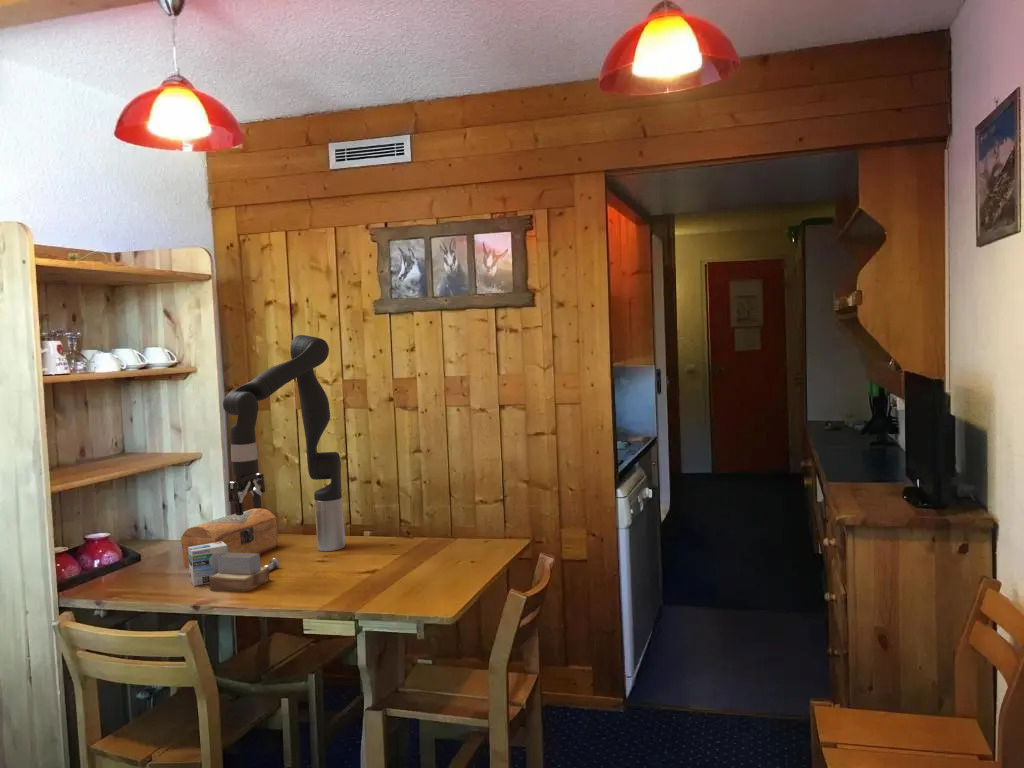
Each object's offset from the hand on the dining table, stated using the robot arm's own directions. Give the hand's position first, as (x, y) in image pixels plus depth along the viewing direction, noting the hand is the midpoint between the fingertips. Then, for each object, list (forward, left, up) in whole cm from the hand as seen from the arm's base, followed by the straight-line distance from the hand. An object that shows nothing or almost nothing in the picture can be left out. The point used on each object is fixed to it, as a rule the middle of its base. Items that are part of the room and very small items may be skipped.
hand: (248, 511), depth 244 cm
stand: (+4, -2, -21) cm, 22 cm away
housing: (+4, -2, -17) cm, 18 cm away
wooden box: (-25, -25, -22) cm, 41 cm away
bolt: (-11, -2, -21) cm, 24 cm away
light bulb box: (+1, -15, -22) cm, 26 cm away
